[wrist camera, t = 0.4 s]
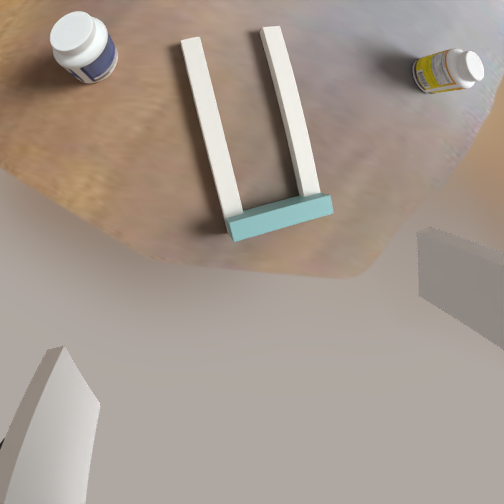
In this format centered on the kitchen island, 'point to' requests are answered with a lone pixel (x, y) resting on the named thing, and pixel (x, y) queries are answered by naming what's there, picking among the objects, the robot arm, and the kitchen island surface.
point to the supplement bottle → (448, 71)
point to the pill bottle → (83, 47)
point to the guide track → (309, 197)
